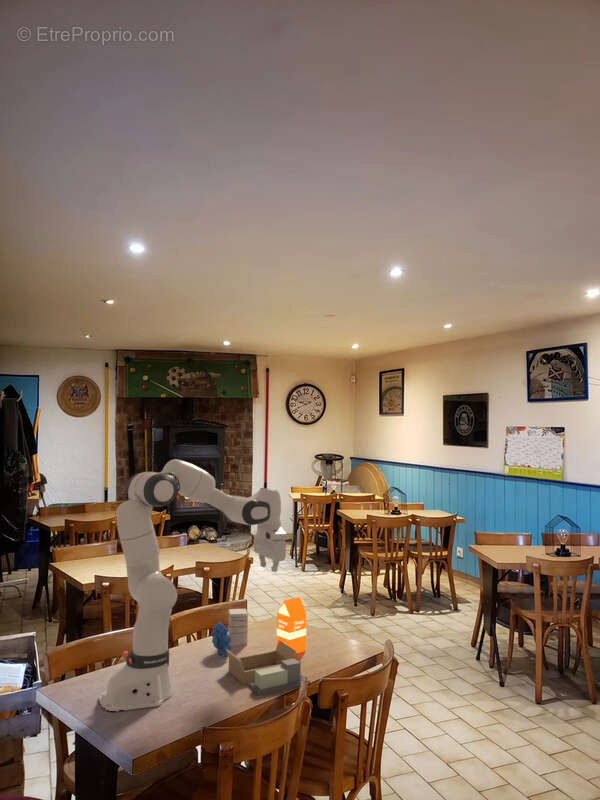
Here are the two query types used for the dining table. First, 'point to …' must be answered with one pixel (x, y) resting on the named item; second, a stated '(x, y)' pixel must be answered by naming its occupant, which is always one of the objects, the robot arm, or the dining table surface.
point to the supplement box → (238, 627)
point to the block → (278, 674)
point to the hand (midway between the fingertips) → (268, 569)
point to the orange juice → (292, 624)
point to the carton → (258, 661)
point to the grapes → (221, 639)
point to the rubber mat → (275, 687)
